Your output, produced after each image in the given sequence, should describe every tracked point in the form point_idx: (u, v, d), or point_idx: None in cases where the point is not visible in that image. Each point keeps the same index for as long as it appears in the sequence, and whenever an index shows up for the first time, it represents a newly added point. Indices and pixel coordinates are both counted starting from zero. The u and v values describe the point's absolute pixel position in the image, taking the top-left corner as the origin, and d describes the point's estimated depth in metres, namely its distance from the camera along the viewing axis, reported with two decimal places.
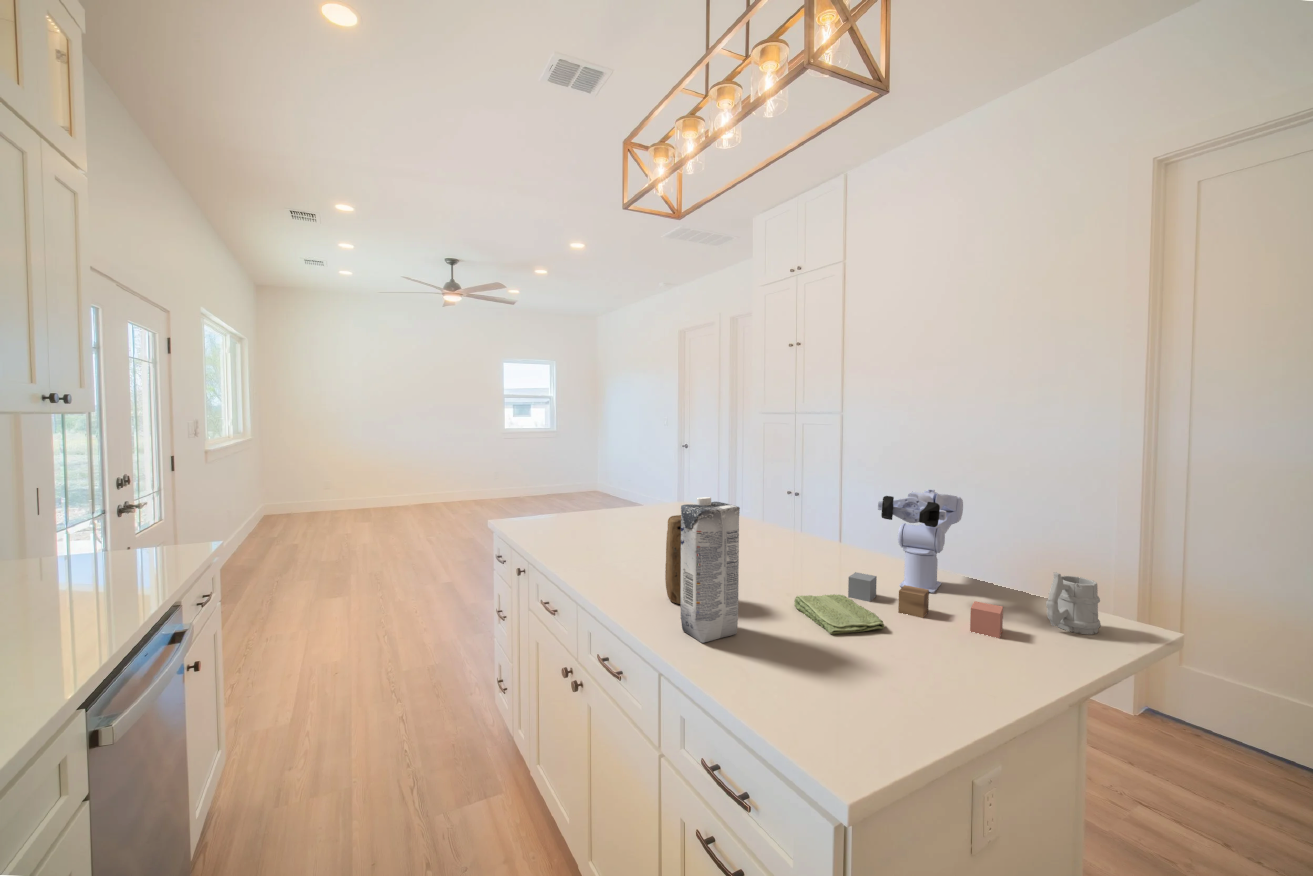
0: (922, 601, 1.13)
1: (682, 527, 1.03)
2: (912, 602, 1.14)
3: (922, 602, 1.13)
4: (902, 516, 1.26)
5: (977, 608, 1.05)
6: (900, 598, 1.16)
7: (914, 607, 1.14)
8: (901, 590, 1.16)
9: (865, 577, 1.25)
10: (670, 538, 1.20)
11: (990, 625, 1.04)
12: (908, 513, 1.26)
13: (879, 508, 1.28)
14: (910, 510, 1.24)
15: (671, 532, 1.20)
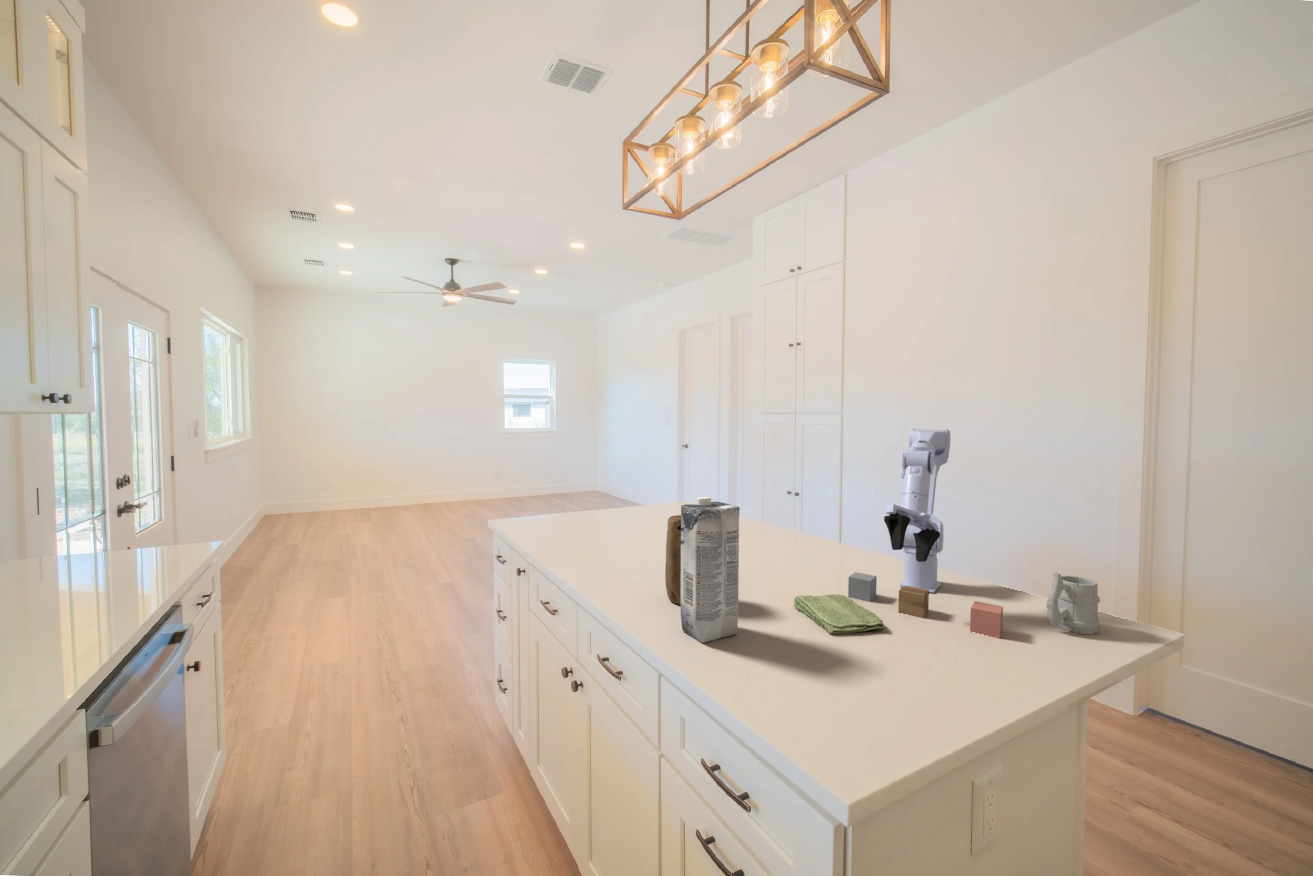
0: (922, 601, 1.13)
1: (682, 527, 1.03)
2: (912, 602, 1.14)
3: (922, 602, 1.13)
4: None
5: (977, 608, 1.05)
6: (900, 598, 1.16)
7: (914, 607, 1.14)
8: (901, 590, 1.16)
9: (865, 577, 1.25)
10: (670, 538, 1.20)
11: (990, 625, 1.04)
12: None
13: (888, 513, 1.17)
14: (912, 523, 1.19)
15: (671, 532, 1.20)
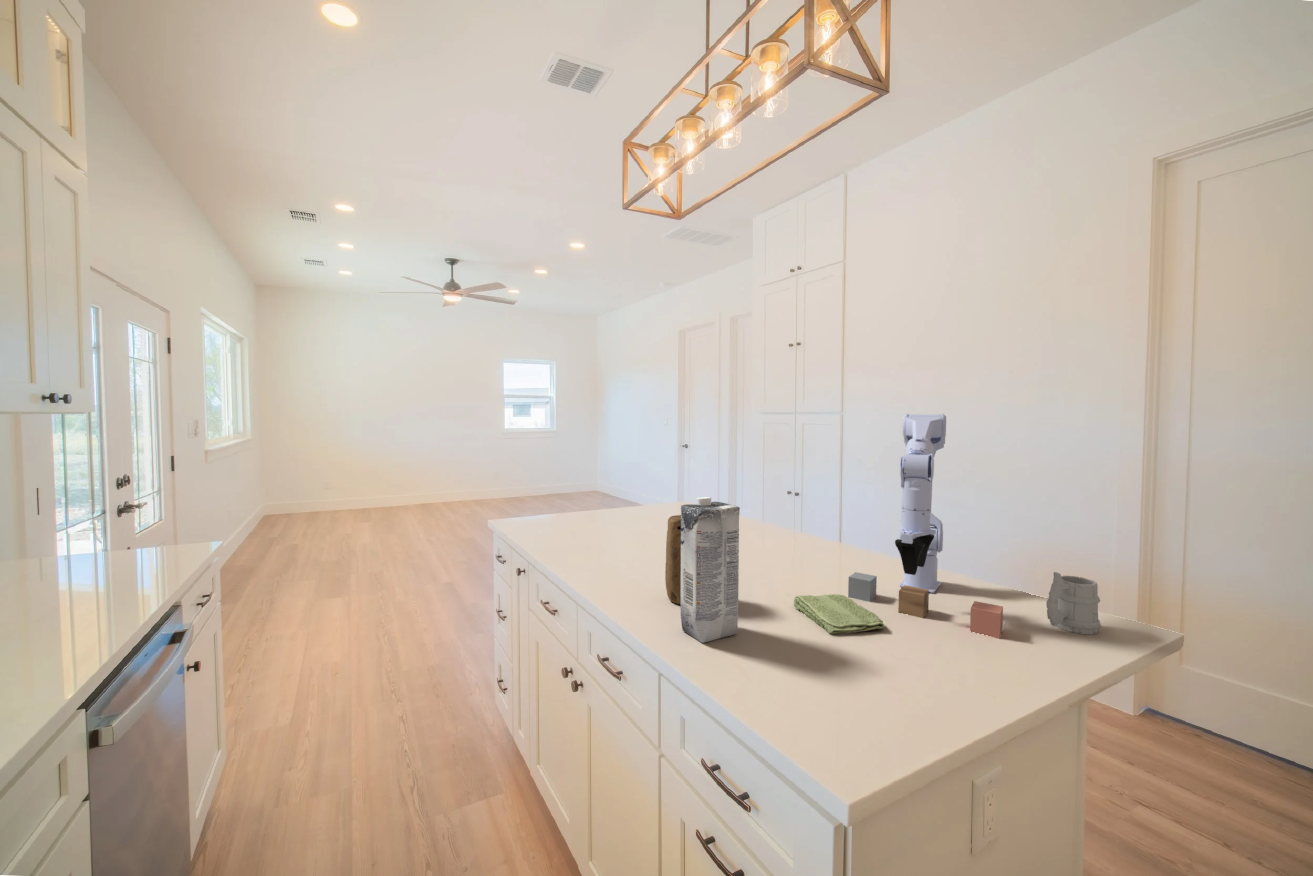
0: (922, 601, 1.13)
1: (682, 527, 1.03)
2: (912, 602, 1.14)
3: (922, 602, 1.13)
4: None
5: (977, 608, 1.05)
6: (900, 598, 1.16)
7: (914, 607, 1.14)
8: (901, 590, 1.16)
9: (865, 577, 1.25)
10: (670, 538, 1.20)
11: (990, 625, 1.04)
12: None
13: None
14: None
15: (671, 532, 1.20)
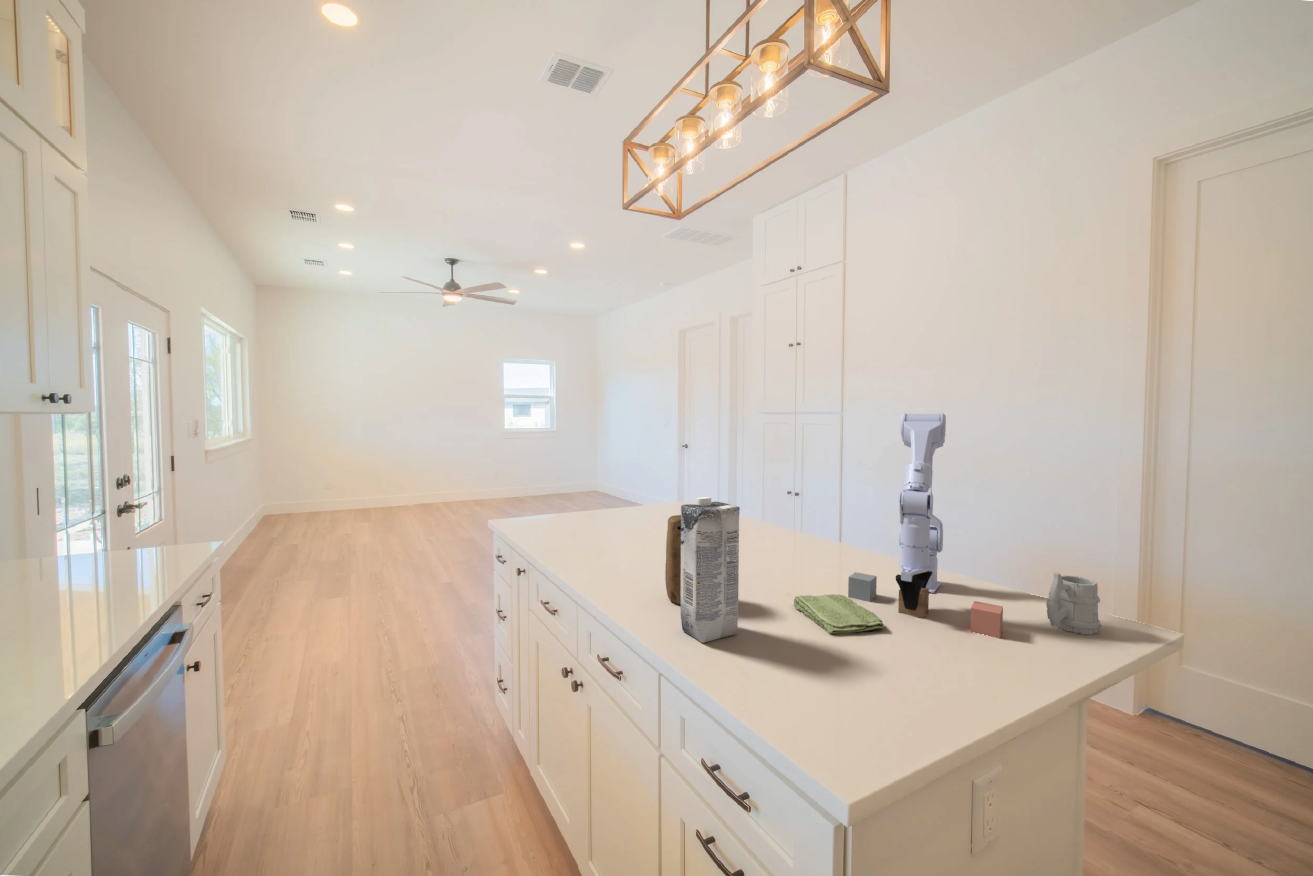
0: (922, 601, 1.13)
1: (682, 527, 1.03)
2: None
3: (922, 602, 1.13)
4: None
5: (977, 608, 1.05)
6: (900, 598, 1.16)
7: None
8: None
9: (865, 577, 1.25)
10: (670, 538, 1.20)
11: (990, 625, 1.04)
12: None
13: None
14: None
15: (671, 532, 1.20)
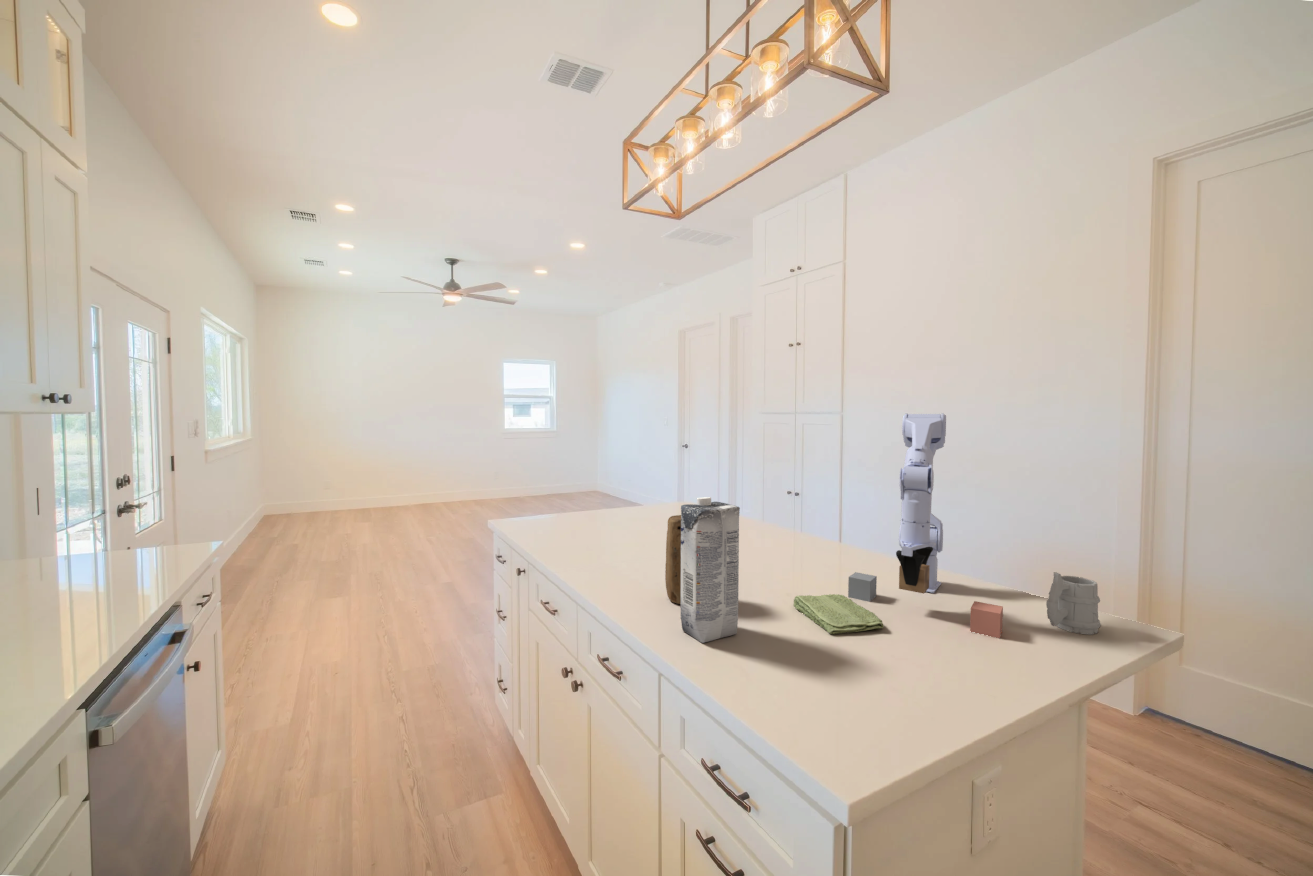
0: (923, 576, 1.13)
1: (682, 527, 1.03)
2: None
3: (923, 577, 1.13)
4: None
5: (977, 608, 1.05)
6: (901, 574, 1.16)
7: None
8: None
9: (865, 577, 1.25)
10: (670, 538, 1.20)
11: (990, 625, 1.04)
12: None
13: None
14: None
15: (671, 532, 1.20)
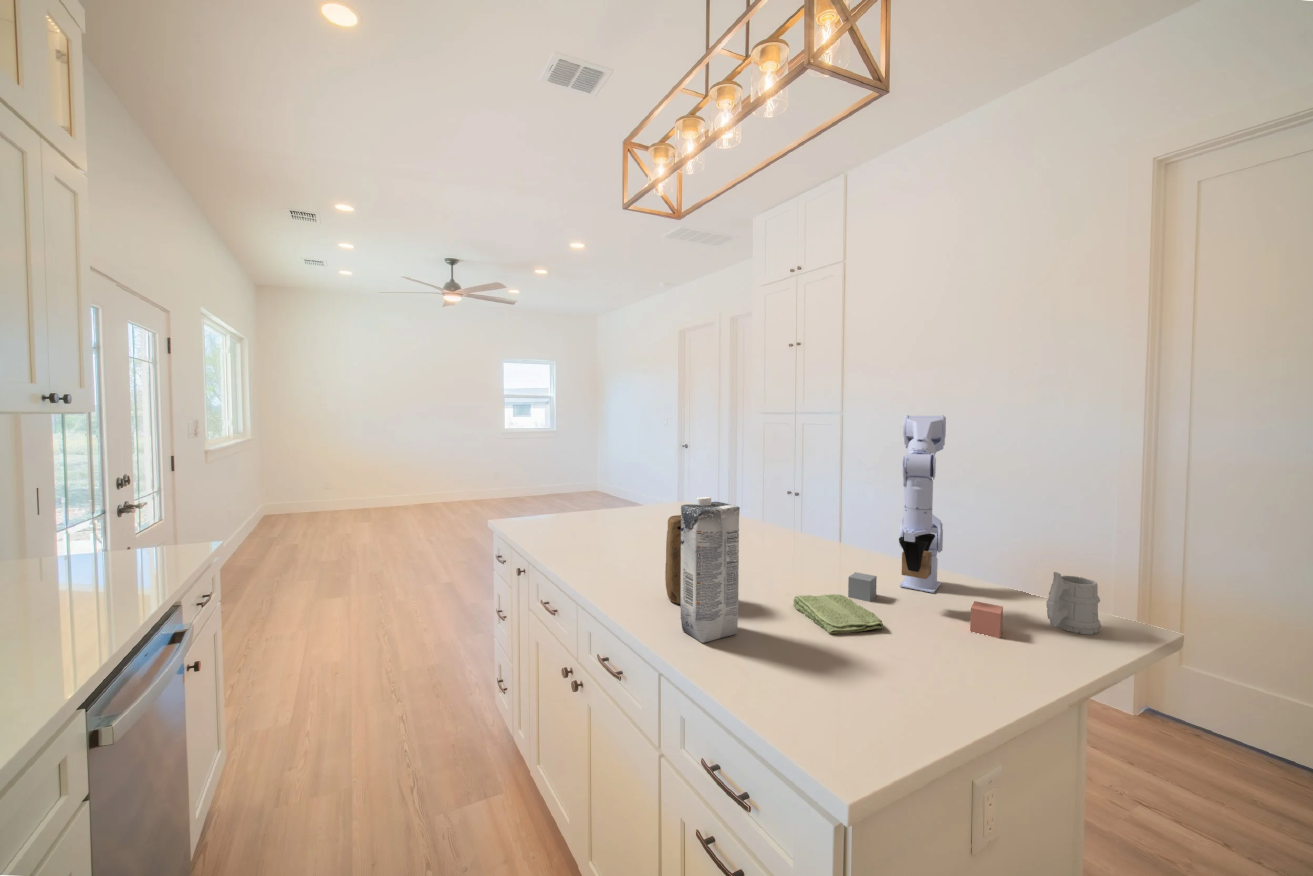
0: (925, 562, 1.14)
1: (682, 527, 1.03)
2: None
3: (925, 563, 1.14)
4: None
5: (977, 608, 1.05)
6: (903, 560, 1.17)
7: None
8: None
9: (865, 577, 1.25)
10: (670, 538, 1.20)
11: (990, 625, 1.04)
12: None
13: None
14: None
15: (671, 532, 1.20)
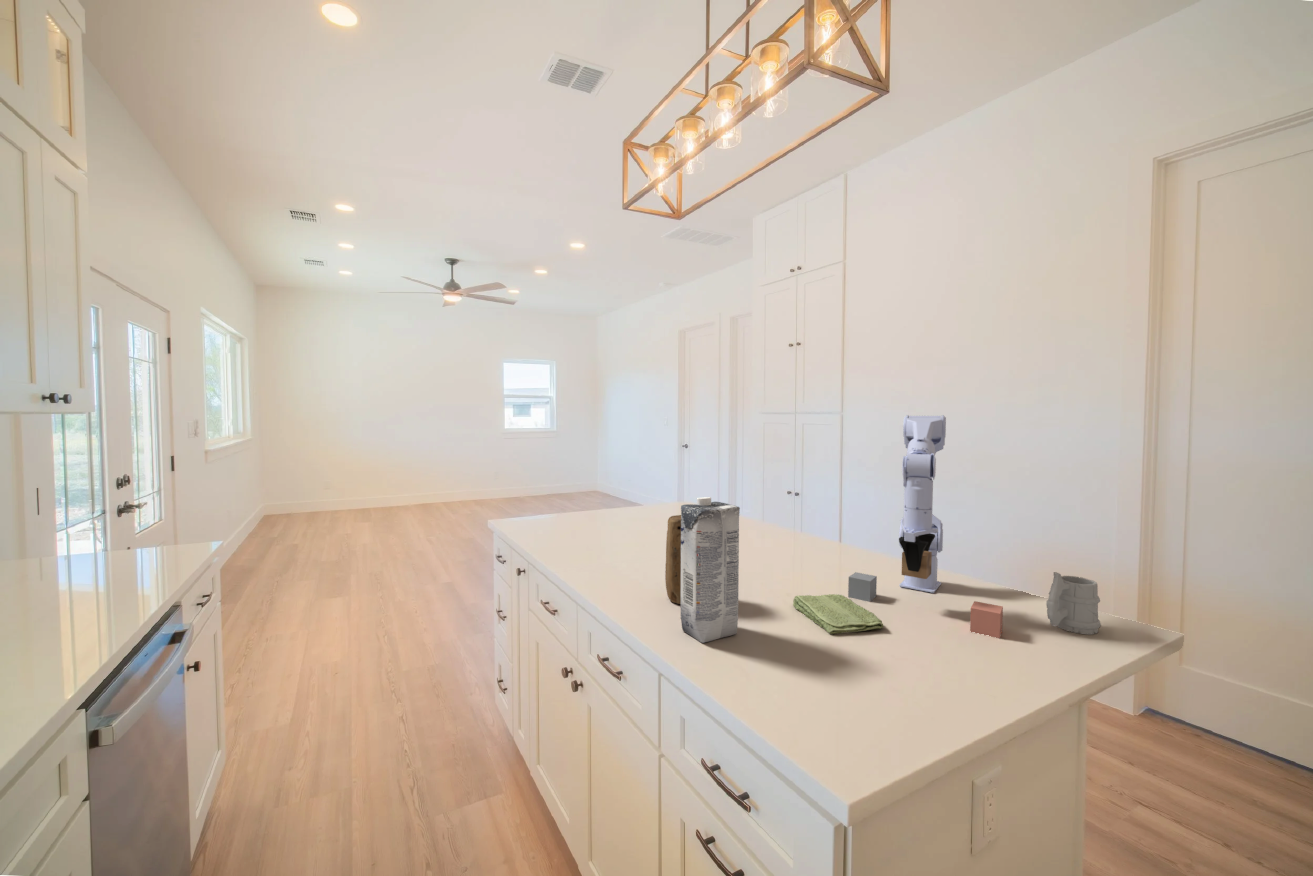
0: (925, 562, 1.14)
1: (682, 527, 1.03)
2: None
3: (925, 563, 1.14)
4: None
5: (977, 608, 1.05)
6: (903, 560, 1.17)
7: None
8: None
9: (865, 577, 1.25)
10: (670, 538, 1.20)
11: (990, 625, 1.04)
12: None
13: None
14: None
15: (671, 532, 1.20)
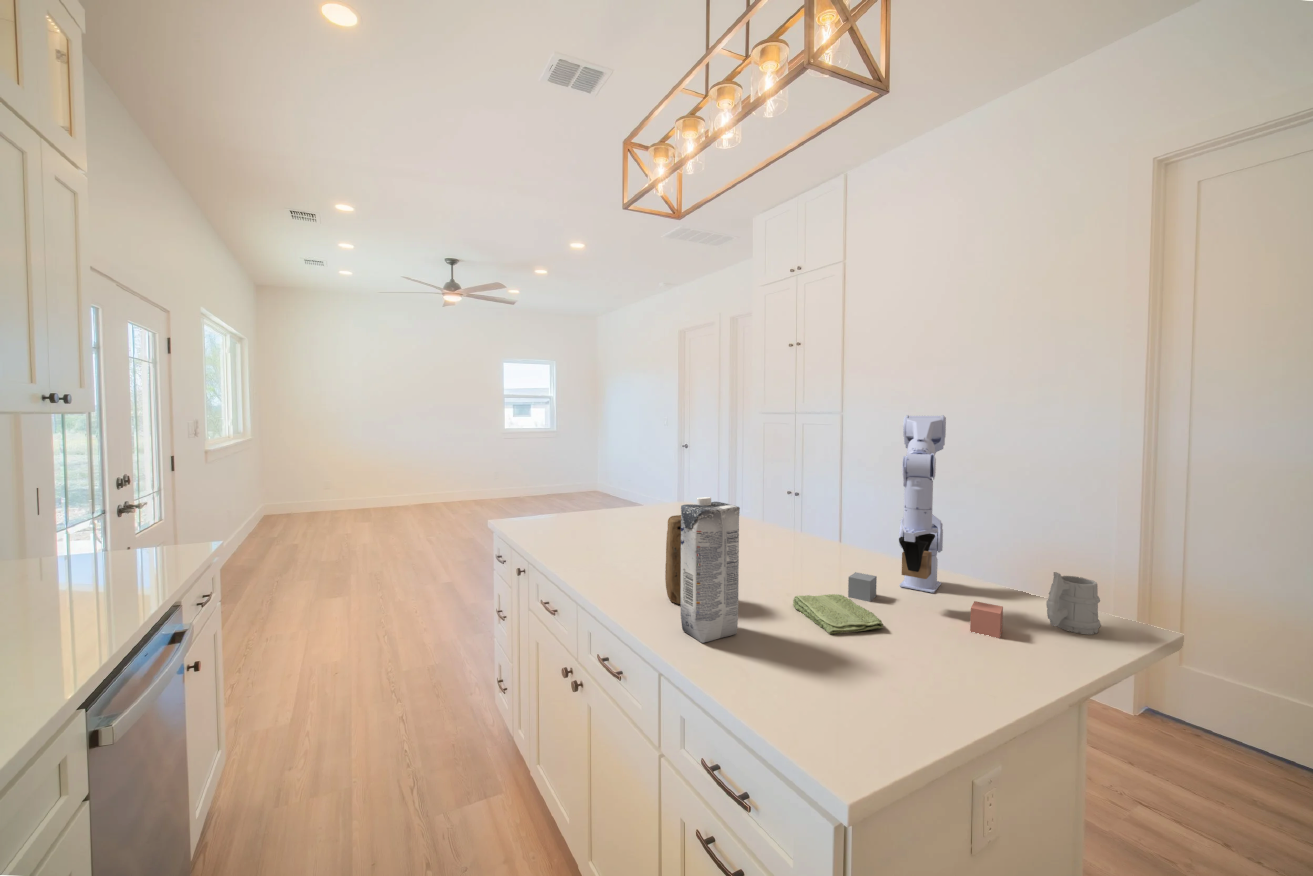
0: (925, 562, 1.14)
1: (682, 527, 1.03)
2: None
3: (925, 563, 1.14)
4: None
5: (977, 608, 1.05)
6: (903, 560, 1.17)
7: None
8: None
9: (865, 577, 1.25)
10: (670, 538, 1.20)
11: (990, 625, 1.04)
12: None
13: None
14: None
15: (671, 532, 1.20)
